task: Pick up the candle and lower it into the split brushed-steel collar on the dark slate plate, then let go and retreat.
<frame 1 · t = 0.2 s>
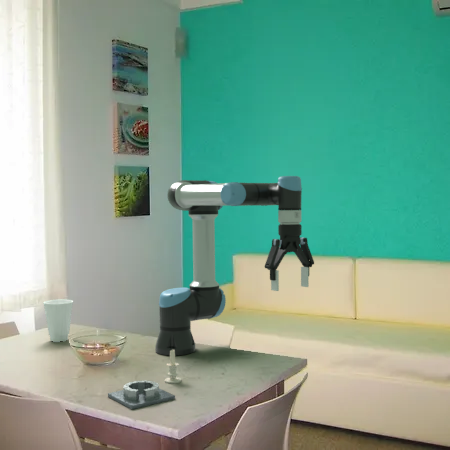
hand: (290, 288, 196), 28 cm above the table, fingers open, 13 cm apart
candle: (172, 381, 189), on the table
cup: (59, 340, 247), on the table
ring stand: (141, 397, 173), on the table
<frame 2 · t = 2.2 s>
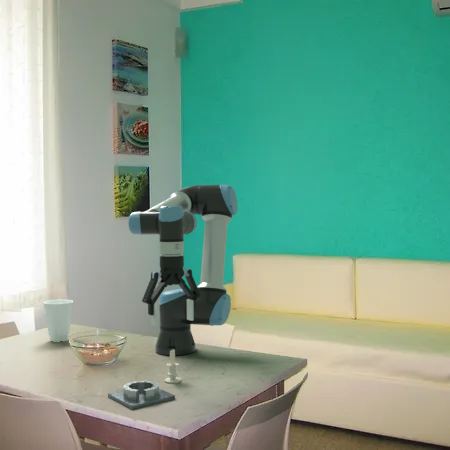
hand: (172, 322, 188), 18 cm above the table, fingers open, 13 cm apart
nothing on the table moved.
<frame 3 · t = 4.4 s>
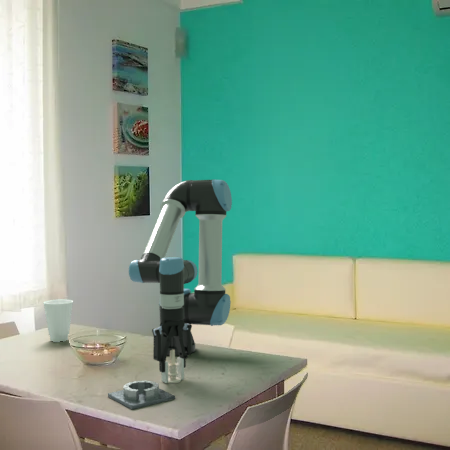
hand: (172, 380, 189), 0 cm above the table, fingers closed on candle, 5 cm apart
candle: (172, 381, 189), on the table, touching gripper
everything else where it was.
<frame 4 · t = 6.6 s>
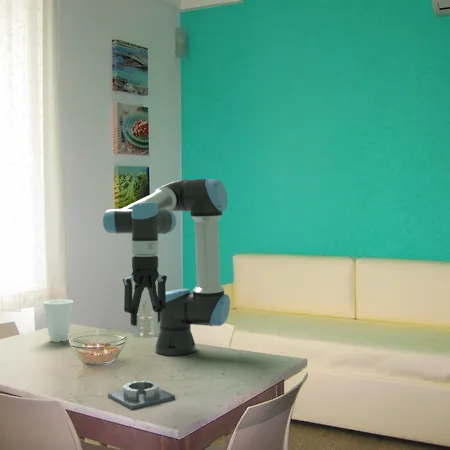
hand: (145, 335, 174), 18 cm above the table, fingers closed on candle, 5 cm apart
candle: (145, 336, 174), point 17 cm above the table, touching gripper
everything else where it was.
when the fingers open (4 cm above the table, at t = 8.7 s): candle drops 2 cm, resting on ring stand.
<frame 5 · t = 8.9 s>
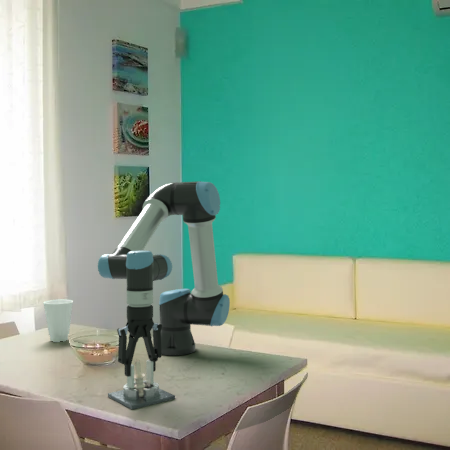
hand: (140, 384, 173), 4 cm above the table, fingers open, 6 cm apart
candle: (140, 394, 173), point 1 cm above the table, touching ring stand
everything else where it was.
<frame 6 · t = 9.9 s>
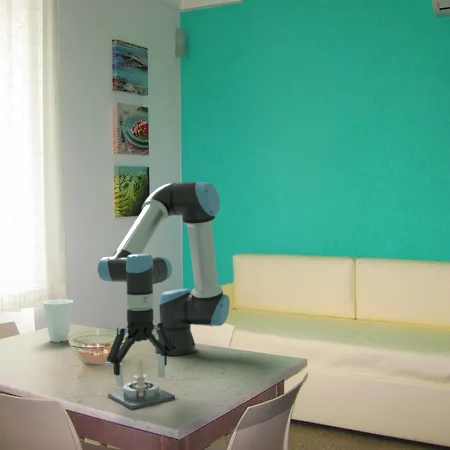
hand: (141, 381, 173), 5 cm above the table, fingers open, 13 cm apart
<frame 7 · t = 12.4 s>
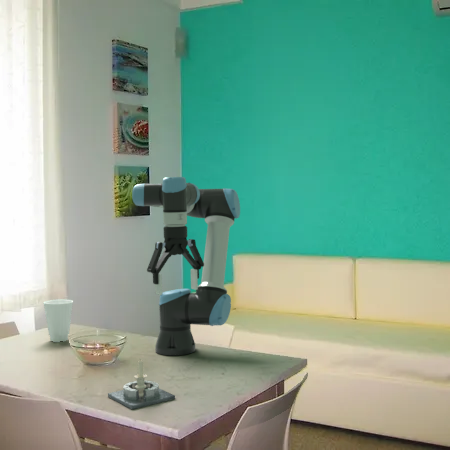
hand: (176, 291, 192), 28 cm above the table, fingers open, 13 cm apart
nothing on the table moved.
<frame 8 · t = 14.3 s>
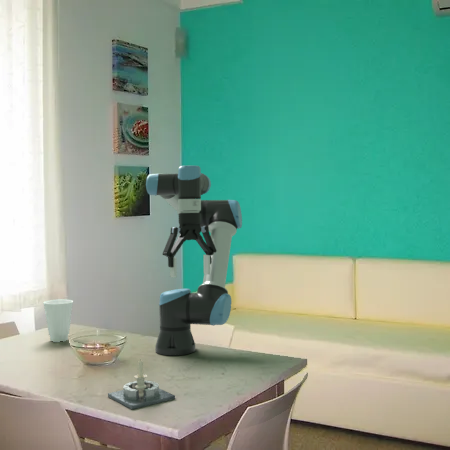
hand: (190, 275, 201), 32 cm above the table, fingers open, 13 cm apart
nothing on the table moved.
at the end: candle 0.2 cm off-centre on the ring stand, point 0.8 cm above the ring stand's base; candle tilted 0°; the gripper is holding nothing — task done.
